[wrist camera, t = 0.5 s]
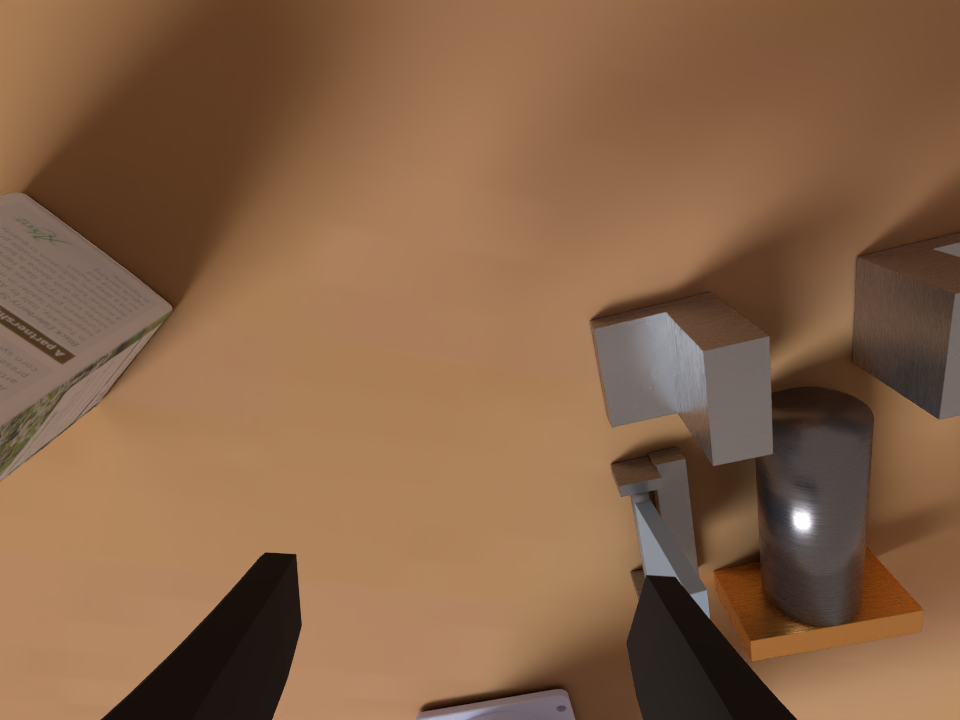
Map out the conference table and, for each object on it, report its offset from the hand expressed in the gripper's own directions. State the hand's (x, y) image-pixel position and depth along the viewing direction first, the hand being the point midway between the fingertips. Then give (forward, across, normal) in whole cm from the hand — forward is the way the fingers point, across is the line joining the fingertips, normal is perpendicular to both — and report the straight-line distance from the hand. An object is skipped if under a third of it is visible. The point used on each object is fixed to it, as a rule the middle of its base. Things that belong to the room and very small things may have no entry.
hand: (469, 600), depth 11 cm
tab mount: (+10, -9, +5) cm, 14 cm away
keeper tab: (+9, -8, +6) cm, 13 cm away
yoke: (+10, -11, -3) cm, 15 cm away
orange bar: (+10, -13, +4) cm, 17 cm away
